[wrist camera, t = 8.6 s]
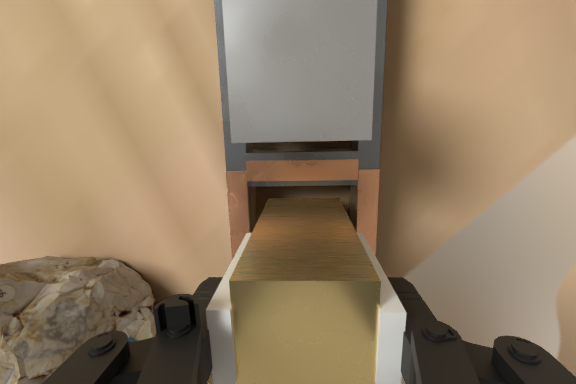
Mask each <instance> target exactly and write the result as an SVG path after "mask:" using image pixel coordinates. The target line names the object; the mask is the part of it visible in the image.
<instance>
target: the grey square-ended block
mask: <svg viewBox="0 0 576 384" xmlns="http://www.w3.org/2000/svg"><path fill="white" fill-rule="evenodd" d="M222 9H223V24H224V39H225V54H226V69H227V84H228V99H229V114H230V129H231V143H258V142H305V141H353V140H372V120H373V95H374V71H375V46H376V22H377V0H222Z"/></svg>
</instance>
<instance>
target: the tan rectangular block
mask: <svg viewBox="0 0 576 384" xmlns="http://www.w3.org/2000/svg"><path fill="white" fill-rule="evenodd" d="M229 288H230V301H231V307H232V321H233V334H234V347H235V360H236V374H237V384H375V372H376V353H377V334H378V315H379V309H380V290H381V280H380V278H379V276H378V274H377V272H376V270H375V268H374V266H373V264H372V262H371V260H370V258H369V256H368V255H367V253H366V251H365V249H364V247H363V245H362V243H361V241H360V239H359V237H358V235H357V233H356V231H355V229H354V227H353V225H352V223H351V221H350V219H349V217H348V215H347V213H346V211H345V209H344V207H343V205H342V203H341V201H340V199H339V198H302V199H268V201H267V203H266V205H265V207H264V209H263V211H262V213H261V215H260V217H259V219H258V221H257V223H256V225H255V228H254V230H253V232H252V234H251V236H250V238H249V240H248V242H247V244H246V246H245V248H244V250H243V252H242V254H241V257H240V259H239V261H238V263H237V265H236V267H235V269H234V271H233V273H232V275H231V277H230V279H229Z"/></svg>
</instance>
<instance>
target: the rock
mask: <svg viewBox="0 0 576 384" xmlns="http://www.w3.org/2000/svg"><path fill="white" fill-rule="evenodd" d="M154 302H155V300H154V298H153V295H152V290H151V287H150V285H149V284H148V283H147V282H146V281H144V280H143V279H142V278H141V276H140V275H139V274H138V273H137V272H135V271H134V270H132V269H131V268H129V267H127V266H125V265H124V264H123V263H122V262H119V261H117V260H113V259H110V260H103V259H101V258H94V257H84V258H74V259H66V258H60V257H52V256H46V257H43V258H38V259H30V260H24V261H17V262H11V263H6V264H1V265H0V384H42V383H43V382H44V381H45V380H46V379H47V378H48V377H49V376H50V375H51V374H52V373H53V372H54V371H55V370H56V369H57V368H58V367H59V366H60V365H61V364H62V363H63V362H64V361H65V360H66V359H67V358H68V357H69V356H70V355H71V354H73V353H74V352H75V351H76V350H77V349H78V348H79V347H80V346H81V345H82V344H83V343H85V342H86V341H87V340H89V339H90V338H92V337H94V336H96V335H98V334H101V333H104V332H108V331H116V330H117V331H122V332H124V333H126V334H127V335H128V341H129V343H130V342H134V341H139V340H144V339H148V338H152V337H155V335H156V327H155V320H154V313H153V308H154Z"/></svg>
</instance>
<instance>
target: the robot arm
mask: <svg viewBox="0 0 576 384" xmlns="http://www.w3.org/2000/svg"><path fill="white" fill-rule="evenodd" d="M356 233H357V235H358V237H359V239H360V241H361V243H362V245H363V247H364V249H365V251H366V253H367V255H368V256H369V258H370V260H371V262H372V264H373V266H374V268H375V270H376V272H377V274H378V276H379V278H380V280H381V290H380V309H379V315H378V334H377V353H376V372H375V384H401V378H402V377H401V376H403V378H404V381H405V383H406V384H576V377H575V376H574V375H573V374H572V373H571V372H569V371H568V370H567V369H566V368H565V367H564V366H563V365H562V364H561V363H560V362H558V361H557V360H556V359H555V358H554V357H553V356H552V355H551V354H550V353H548V352H547V351H546V350H544V349H543V348H542V347H540V346H538V345H536V344H534V343H532V342H530V341H528V340H525V339H522V338H519V337H514V336H500V337H498V338H497V339H495V340H494V347H493V348H490V347H485V346H481V345H477V344H472V343H469V342H466V341H463V340H462V339H461V337H460V335H459V334H458V333H457V331H455V330H454V329H453V328H452V327H450V326H449V325H447V324H445V323H442V322H440V321H437V319H436V318H435V316H434V315H433V314H432V312H431V311H430V309H429V308H428V306H427V305H426V303H425V302H424V301H423V300H422V298H421V296H420V295H419V294H418V292H417V290H416V289H415V287H414V286H413V285H412V284H411V283H410V282H408V281H407V280H405V279H404V278H391V277H387V276H386V275H385V273H384V271H383V269H382V267H381V266H380V264H379V262H378V260H377V258H376V256H375V255H374V253H373V251H372V249H371V247H370V246H369V244H368V242H367V240H366V238H365V237H364V235H363V233H362V232H356ZM251 234H252V233H246V235H245V237H244V239H243V241H242V243H241V245H240V246H239V248H238V250H237V252H236V254H235V256H234V258H233V260H232V261H231V263H230V265H229V267H228V269H227V271H226V273H225V275H224V277H209V278H208V279H206V280H205V281H204V282H202V283H201V284H200V285H199V287H198V288H197V290H196V291H195V293H194V294H193V295H189V294H178V295H174V296H170V297H168V298H165V299H163V300H162V301H160V302H159V303H157V304H156V306H155V307H154V308H153V313H154V320H155V327H156V335H155V337H152V338H148V339H144V340H139V341H134V342H130V343H129V341H128V335H127V334H126V333H124V332H122V331H117V330H116V331H108V332H104V333H101V334H98V335H96V336H94V337H92V338H90V339H89V340H87V341H86V342H85V343H83V344H82V345H81V346H80V347H79V348H78V349H77V350H76V351H75V352H74V353H73V354H71V355H70V356H69V357H68V358H67V359H66V360H65V361H64V362H63V363H62V364H61V365H60V366H59V367H58V368H57V369H56V370H55V371H54V372H53V373H52V374H51V375H50V376H49V377H48V378H47V379H46V380H45V381H44V382H43V383H42V384H207V381H208V378H209V376H210V373H211V370H212V380H213V384H236V382H237V374H236V360H235V347H234V334H233V321H232V307H231V301H230V288H229V279H230V277H231V275H232V273H233V271H234V269H235V267H236V265H237V263H238V261H239V259H240V257H241V254H242V252H243V250H244V248H245V246H246V244H247V242H248V240H249V238H250V236H251Z"/></svg>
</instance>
